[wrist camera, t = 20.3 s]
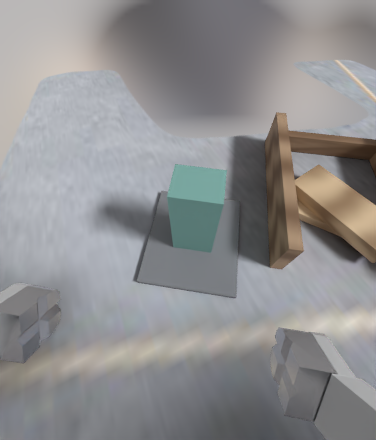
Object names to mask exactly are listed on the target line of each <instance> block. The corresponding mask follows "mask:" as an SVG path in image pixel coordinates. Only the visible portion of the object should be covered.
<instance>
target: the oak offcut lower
mask: <svg viewBox="0 0 376 440" xmlns="http://www.w3.org/2000/svg"><path fill="white" fill-rule="evenodd" d="M297 202H298V210H299V218H300V220H301V221H304V222H306V223H309V224H311V225H313V226H316V227H318V228H321V229H323V230H325V231H328V232H330V233H333V234H335V235H337V236H340V235H339V234H337V233H336V232H335V231H334V230H333V229H331V228H330V227H329V226H328V225H327V224H325V223H324V222H323V221H322V220H321V219H320V218H318V217H317V216H316V215H315V214H314V213H312V212H311V211H310V210H309V209H308V208H307V207H305V206H304V205H303V204H302V203H301V202H299V201H298V200H297ZM340 237H341V236H340Z"/></svg>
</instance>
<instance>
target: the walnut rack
mask: <svg viewBox="0 0 376 440" xmlns="http://www.w3.org/2000/svg"><path fill="white" fill-rule="evenodd" d="M291 151H292V152H301V153H310V154H319V155H328V156H338V157H347V158H356V159H365V160H369V161H370V164H371V166H372V169H373V171H374V174H375V177H376V140H373V139H364V138H354V137H345V136H335V135H325V134H316V133H306V132H297V131H288V125H287V118H286V113H276V115H275V118H274V121H273V123H272V126H271V128H270V131H269V134H268V136H267V139H266V141H265V158H266V183H267V208H268V233H269V258H270V268H277V269H283V268H284V267H285V266H286V265H288V264H289V263H290V262H291V261H292V260H294V259H295V258H296V257H297V256H298V255H300V254H301V253H302V252H303V251H304V249H303V242H302V234H301V226H300V218H299V210H298V202H297V195H296V187H295V179H294V171H293V163H292V156H291Z"/></svg>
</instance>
